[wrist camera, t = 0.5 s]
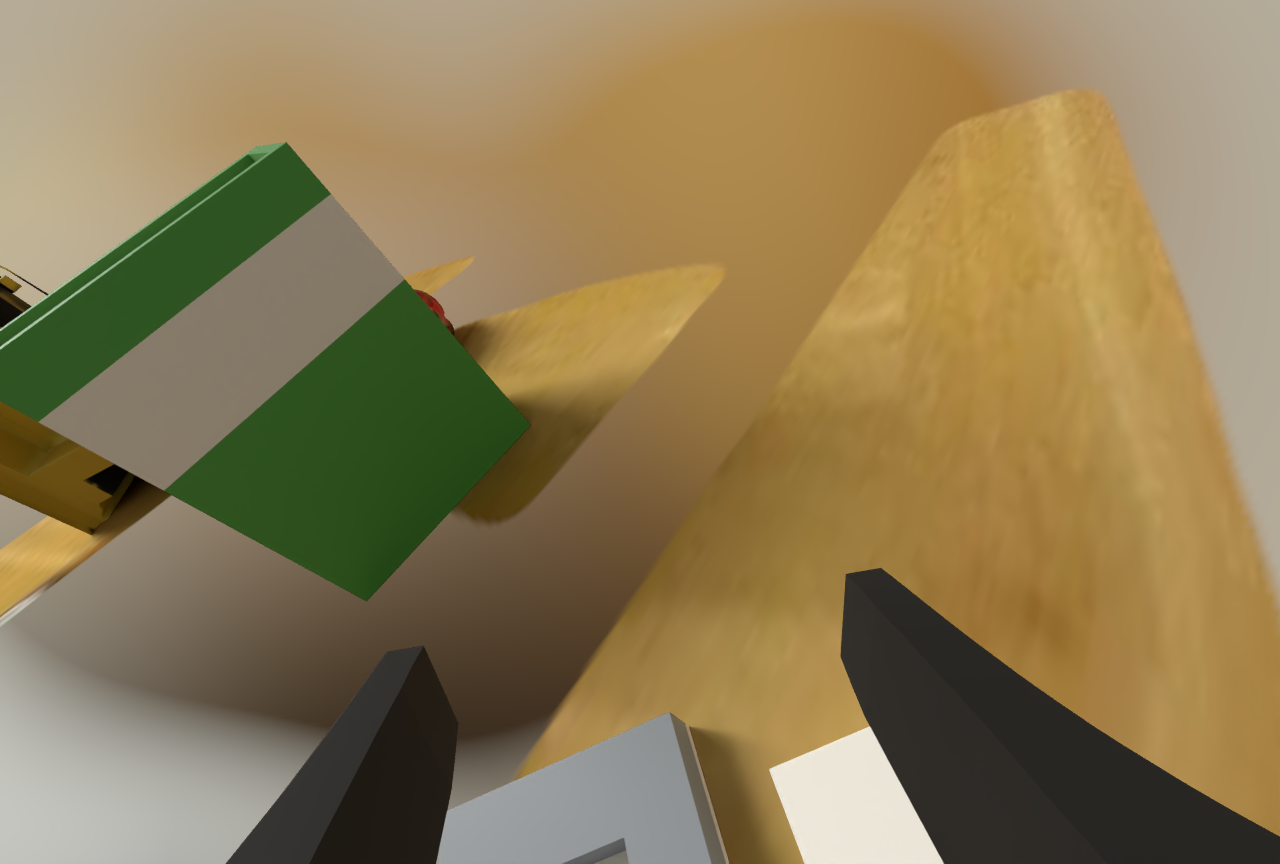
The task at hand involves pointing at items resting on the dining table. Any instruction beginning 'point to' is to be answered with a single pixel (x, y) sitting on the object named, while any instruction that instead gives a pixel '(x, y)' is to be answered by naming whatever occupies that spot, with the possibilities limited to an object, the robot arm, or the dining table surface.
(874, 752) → the block
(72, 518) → the vintage telephone
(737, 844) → the dining table surface
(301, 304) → the hardback book
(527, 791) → the outlet box
